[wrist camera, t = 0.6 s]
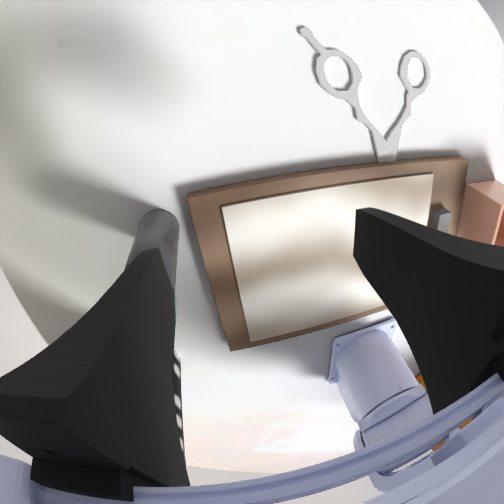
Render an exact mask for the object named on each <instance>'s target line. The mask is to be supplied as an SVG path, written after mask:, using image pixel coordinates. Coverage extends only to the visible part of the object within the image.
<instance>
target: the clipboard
mask: <svg viewBox="0 0 504 504" xmlns="http://www.w3.org/2000/svg"><path fill="white" fill-rule="evenodd" d="M467 166H468V159H466V158H463V157H461V156H456V157H436V158H420V159H407V160H396V161H391V162H380V163H379V162H374V163H365V164H356V165H348V166H340V167H332V168H324V169H317V170H310V171H304V172H297V173H291V174H285V175H279V176H273V177H267V178H261V179H256V180H251V181H245V182H240V183H235V184H230V185H225V186H220V187H215V188H210V189H206V190H201V191H197V192H192V193H188V196H187V200H188V204H189V208H190V212H191V216H192V220H193V224H194V227H195V231H196V235H197V239H198V243H199V246H200V250H201V254H202V257H203V261H204V265H205V268H206V272H207V275H208V279H209V282H210V286H211V289H212V293H213V296H214V300H215V303H216V306H217V310H218V313H219V316H220V319H221V323H222V326H223V329H224V332H225V336H226V339H227V342H228V345H229V348H230V351H235V350H240V349H245V348H250V347H254V346H259V345H263V344H267V343H271V342H276V341H280V340H284V339H288V338H292V337H296V336H299V335H303V334H307V333H311V332H314V331H318V330H321V329H325V328H328V327H332V326H335V325H339V324H342V323H345V322H349V321H352V320H355V319H358V318H361V317H364V316H368V315H371V314H374V313H377V312H380V311H383V310H385V309H388V308H387V307H386V305H385V304H384V303H383V301H382V300H381V299H380V297H379V296H378V294H377V293H376V292H375V290H374V289H373V288H372V286H371V285H370V284H369V282H368V281H367V279H366V278H365V277H364V275H363V273H362V272H361V270H360V268H359V266H358V264H357V262H356V261H355V259H354V257H353V247H354V233H355V216H356V209H361V208H367V207H372V208H376V209H380V210H383V211H386V212H389V213H392V214H395V215H398V216H401V217H403V218H406V219H409V220H411V221H414V222H417V223H419V224H422V225H425V226H428V227H430V228H433V229H436V230H439V231H442V232H445V233H448V234H451V235H455V236H456V232H457V227H458V222H459V218H460V212H461V207H462V201H463V195H464V189H465V182H466V174H467Z"/></svg>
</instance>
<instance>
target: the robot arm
mask: <svg viewBox="0 0 504 504" xmlns="http://www.w3.org/2000/svg"><path fill="white" fill-rule="evenodd" d="M353 257H354V259H355V261H356V262H357V264H358V266H359V268H360V270H361V272H362V273H363V275H364V277H365V278H366V279H367V281H368V282H369V284H370V285H371V286H372V288H373V289H374V290H375V292H376V293H377V294H378V296H379V297H380V299H381V300H382V301H383V303H384V304H385V305H386V307H387V308H388V310H389V311H390V312H391V314H392V315H393V317H394V318H395V319H391V320H388V321H385V322H382V323H379V324H376V325H374V326H371V327H368V328H365V329H362V330H359V331H356V332H353V333H349V334H346V335H343V336H340V337H337V338H335V339H334V340H333V347H332V356H331V364H330V372H329V379H328V382H329V384H334V383H337V385H338V387H339V389H340V392H341V394H342V396H343V399H344V401H345V403H346V405H347V408H348V410H349V412H350V415H351V417H352V418H353V420H354V421H355V422H357V423H358V425H359V428H360V429H359V430H357V431H356V432H355V436H354V439H353V444H354V448H355V452H353V453H350V454H347V455H344V456H341V457H338V458H335V459H332V460H329V461H326V462H323V463H320V464H316V465H313V466H309V467H306V468H302V469H298V470H294V471H290V472H286V473H282V474H278V475H272V476H268V477H263V478H257V479H251V480H245V481H239V482H232V483H223V484H214V485H203V486H190V482H189V478H188V474H187V470H186V466H185V462H184V457H183V453H182V447H181V442H180V436H179V431H178V424H177V417H176V409H175V400H174V389H173V353H174V337H175V321H176V312H175V295H174V291H173V288H172V285H171V282H170V279H169V277H168V274H167V271H166V268H165V265H164V262H163V259H162V256H161V253H160V250H159V247H158V248H153V249H148V250H144V251H142V252H141V253H139V254H138V256H137V257H136V258H135V259H134V260H133V261H132V262H131V264H130V265H129V266H128V267H127V268H126V269H125V271H124V272H123V273H122V274H121V275H120V277H119V278H118V279H117V280H116V281H115V283H114V284H113V285H112V286H111V287H110V288H109V289H108V290H107V292H106V293H105V294H104V295H103V296H102V297H101V298H100V299H99V301H98V302H97V303H96V304H95V305H94V306H93V307H92V308H91V309H90V310H89V311H88V312H87V313H86V314H85V315H84V316H83V317H82V318H81V319H80V320H79V321H78V322H77V323H76V324H74V325H73V326H72V327H71V328H70V329H69V330H67V331H66V332H65V333H64V334H63V335H61V336H60V337H59V338H58V339H57V340H56V341H54V342H53V343H52V344H51V345H49V346H48V347H47V348H45V349H44V350H43V351H41V352H40V353H38V354H37V355H36V356H34V357H33V358H31V359H30V360H29V361H27V362H25V363H24V364H22V365H21V366H19V367H17V368H16V369H14V370H13V371H11V372H9V373H7V374H5V375H4V376H2V377H0V435H1V436H3V437H4V438H5V439H7V440H8V441H9V442H11V443H12V444H14V445H15V446H17V447H18V448H20V449H21V450H23V451H24V452H26V453H27V454H29V455H30V456H32V457H33V460H32V465H30V464H28V463H25V462H23V461H20V460H17V459H13V458H10V457H7V456H4V455H0V504H274V503H279V502H283V501H287V500H292V499H296V498H300V497H304V496H308V495H311V494H315V493H318V492H322V491H325V490H328V489H331V488H335V487H337V486H340V485H343V484H346V483H349V482H352V481H354V480H357V479H360V478H362V477H365V476H367V475H369V477H370V479H371V481H372V483H373V485H374V487H375V488H377V489H378V490H379V491H382V492H386V493H384V494H382V495H379V496H377V497H375V498H372V499H370V500H367V501H365V502H362V503H360V504H504V247H503V246H497V245H491V244H487V243H482V242H477V241H473V240H469V239H465V238H462V237H458V236H455V235H451V234H448V233H445V232H442V231H439V230H436V229H433V228H430V227H428V226H425V225H422V224H419V223H417V222H414V221H411V220H409V219H406V218H403V217H401V216H398V215H395V214H392V213H389V212H386V211H383V210H380V209H376V208H372V207H367V208H361V209H356V216H355V233H354V247H353ZM396 323H398V325H399V326H400V328H401V330H402V332H403V334H404V336H405V338H406V340H407V342H408V344H409V346H410V348H411V351H412V353H413V355H414V357H415V360H416V362H417V364H418V367H419V370H420V372H421V375H422V378H423V381H424V383H425V386H426V391H425V389H424V387H423V386H422V384H420V385H419V383H418V382H417V380H416V378H415V377H414V375H413V373H412V372H411V370H410V368H409V367H408V365H407V364H406V362H405V360H404V359H403V357H402V356H401V354H400V353H399V351H398V349H397V348H396V346H395V345H394V343H393V342H392V340H391V339H392V336H393V333H394V329H395V326H396ZM472 417H473V418H472ZM471 418H472V421H471V422H470V423H469V424H468V425H466V426H465V427H464V428H462V429H461V430H460V429H459V427H460V426H461V425H462V424H464V423H465V422H467V421H468V420H470V419H471ZM444 440H445V441H444ZM442 441H444V443H443V444H442V445H441V446H440V447H439V448H438V449H437V450H435V451H433V452H432V453H430V454H429V455H427V456H425V457H424V458H422V459H420V460H419V461H417V462H415V463H413V464H412V465H410V466H408V467H406V468H405V469H402V470H400V471H397V472H391V471H393V470H395V469H397V468H399V467H401V466H402V465H404V464H406V463H408V462H410V461H412V460H413V459H415V458H417V457H418V456H420V455H422V454H423V453H425V452H427V451H428V450H430V449H432V448H433V447H435V446H436V445H438V444H439V443H441V442H442Z"/></svg>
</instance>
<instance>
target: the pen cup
mask: <svg viewBox="0 0 504 504" xmlns="http://www.w3.org/2000/svg"><path fill="white" fill-rule="evenodd" d="M456 236H458V237H462V238H465V239H469V240H473V241H477V242H482V243H487V244H491V245H497V246H503V247H504V184H502V183H500V182H498V181H497V180H492V181H484V182H476V183H468V184H466V186H465V193H464V199H463V205H462V210H461V215H460V220H459V225H458V230H457V234H456Z"/></svg>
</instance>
